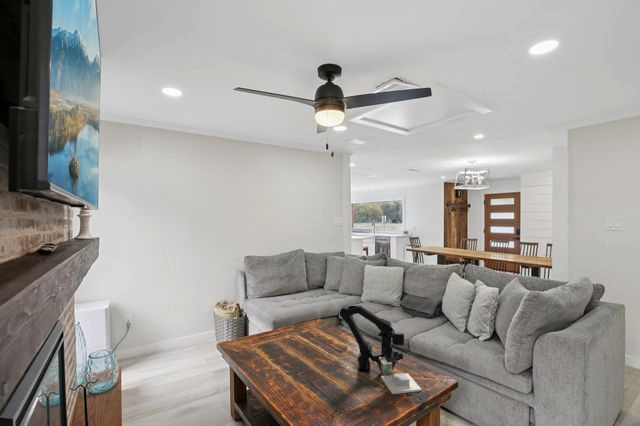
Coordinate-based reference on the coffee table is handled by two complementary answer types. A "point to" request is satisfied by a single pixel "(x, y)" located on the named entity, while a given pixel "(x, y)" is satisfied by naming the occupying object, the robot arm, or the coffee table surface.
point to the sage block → (386, 367)
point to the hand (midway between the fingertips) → (386, 370)
